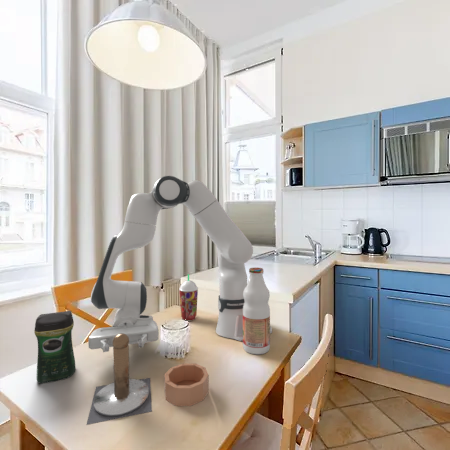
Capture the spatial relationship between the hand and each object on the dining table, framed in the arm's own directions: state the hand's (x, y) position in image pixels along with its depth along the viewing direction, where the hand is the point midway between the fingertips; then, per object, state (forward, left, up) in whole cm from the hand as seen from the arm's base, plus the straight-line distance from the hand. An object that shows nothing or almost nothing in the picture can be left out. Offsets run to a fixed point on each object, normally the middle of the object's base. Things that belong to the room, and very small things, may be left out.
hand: (123, 346), depth 79 cm
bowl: (-16, +12, -9) cm, 22 cm away
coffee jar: (+19, -7, -9) cm, 22 cm away
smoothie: (-25, -39, -9) cm, 47 cm away
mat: (0, +10, -9) cm, 14 cm away
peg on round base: (0, +10, -9) cm, 13 cm away
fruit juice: (-43, -5, -9) cm, 44 cm away
